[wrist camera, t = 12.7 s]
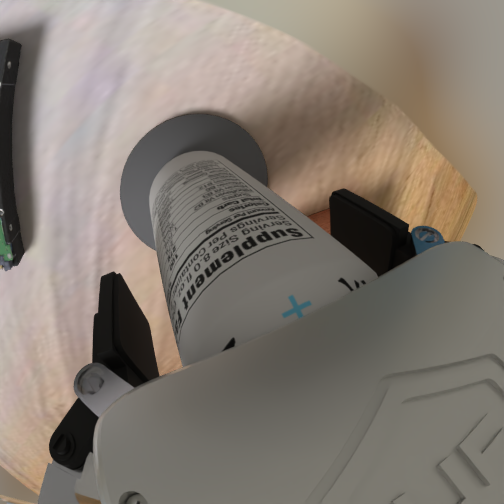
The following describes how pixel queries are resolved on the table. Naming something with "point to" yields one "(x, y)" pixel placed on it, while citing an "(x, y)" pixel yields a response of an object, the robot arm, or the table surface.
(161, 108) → the table surface
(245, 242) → the energy drink can
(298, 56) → the table surface
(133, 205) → the mat
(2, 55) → the disk drive
